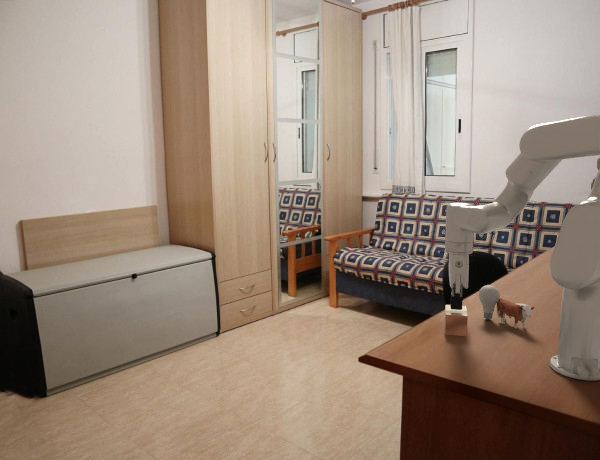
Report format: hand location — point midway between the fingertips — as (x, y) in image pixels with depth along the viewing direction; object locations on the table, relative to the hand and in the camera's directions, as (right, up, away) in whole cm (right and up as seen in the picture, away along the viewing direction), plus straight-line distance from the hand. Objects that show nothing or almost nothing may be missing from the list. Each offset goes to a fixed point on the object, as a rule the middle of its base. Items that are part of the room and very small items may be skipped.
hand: (456, 308), depth 147 cm
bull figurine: (+19, -6, +5) cm, 20 cm away
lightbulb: (+13, -5, +10) cm, 18 cm away
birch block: (-1, -5, -2) cm, 5 cm away
